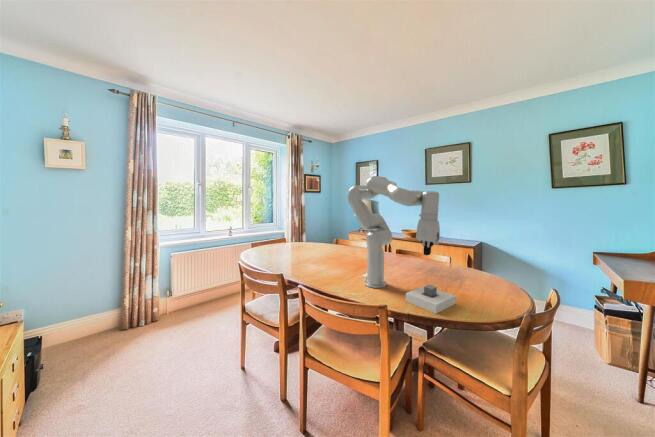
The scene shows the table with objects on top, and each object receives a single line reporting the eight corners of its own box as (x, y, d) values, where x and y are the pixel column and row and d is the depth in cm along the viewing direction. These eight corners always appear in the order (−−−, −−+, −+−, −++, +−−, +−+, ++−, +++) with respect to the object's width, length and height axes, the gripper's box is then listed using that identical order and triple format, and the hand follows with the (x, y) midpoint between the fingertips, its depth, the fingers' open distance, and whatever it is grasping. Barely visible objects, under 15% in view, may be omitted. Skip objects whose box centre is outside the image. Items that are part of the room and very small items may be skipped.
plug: (423, 302, 120) (424, 286, 119) (428, 300, 122) (429, 284, 122) (431, 305, 117) (431, 288, 116) (436, 303, 119) (436, 286, 118)
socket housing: (405, 300, 122) (405, 293, 121) (425, 293, 131) (425, 285, 130) (435, 313, 109) (436, 304, 108) (455, 304, 118) (455, 295, 117)
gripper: (411, 216, 123) (409, 252, 125) (439, 219, 111) (436, 259, 113) (420, 215, 127) (418, 250, 129) (448, 218, 115) (445, 257, 117)
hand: (426, 254), depth 121 cm, fingers closed
